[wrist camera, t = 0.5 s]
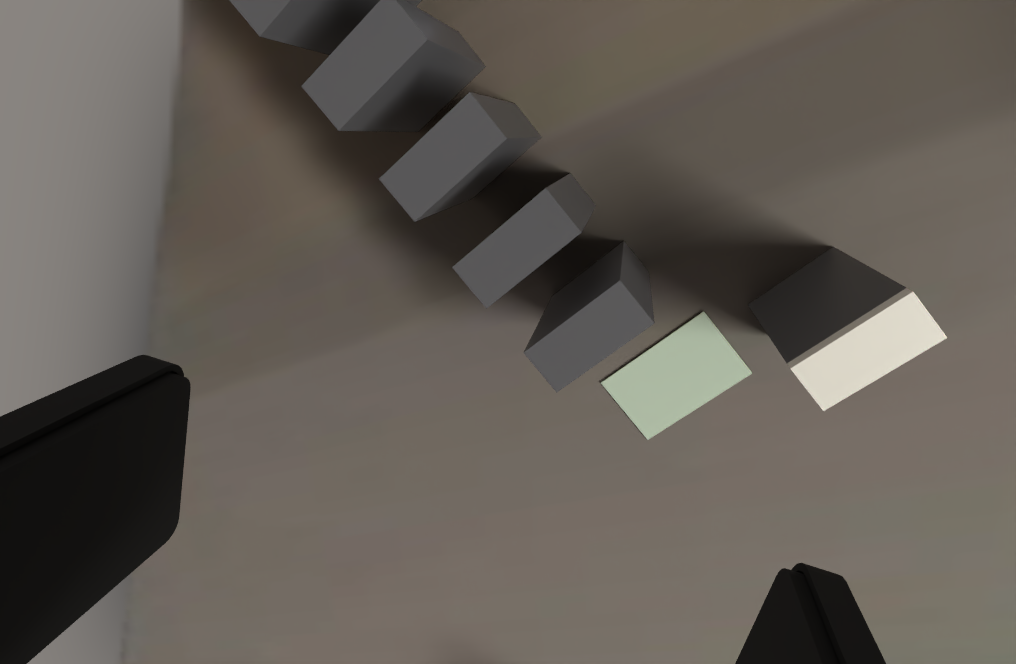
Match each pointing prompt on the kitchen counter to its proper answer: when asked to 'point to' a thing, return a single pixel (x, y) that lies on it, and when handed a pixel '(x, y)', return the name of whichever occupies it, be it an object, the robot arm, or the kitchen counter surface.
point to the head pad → (676, 376)
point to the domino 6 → (843, 325)
